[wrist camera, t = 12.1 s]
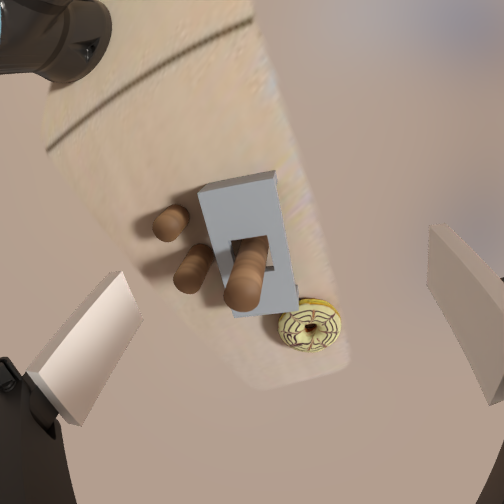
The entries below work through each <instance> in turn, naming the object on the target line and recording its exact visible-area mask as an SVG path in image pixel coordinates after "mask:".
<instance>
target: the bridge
mask: <svg viewBox="0 0 504 504" xmlns="http://www.w3.org/2000/svg"><path fill="white" fill-rule="evenodd" d="M276 186H277V176H276V171H275V170H274V171H268V172H263V173H258V174H252V175H247V176H242V177H237V178H232V179H227V180H222V181H217V182H213V183H208V184H206V185H205V186H204V187H203V188H202V189H201V190H200V191H199V192H198V193H197V195H198V198H199V202H200V205H201V209H202V212H203V216H204V219H205V223H206V226H207V230H208V233H209V237H210V240H211V244H212V247H213V250H214V254H215V257H216V261H217V264H218V267H219V271H220V274H221V277H222V280H223V284H224V287H225V288H226V285H227V282H228V279H229V276H230V274H231V271H232V268H233V265H234V262H235V255H234V251H233V248H232V244H231V241H232V240H238V239H245V238H251V237H257V236H264V235H267V237H268V242H269V247H270V251H271V256H272V260H273V265H274V266H268V267H265V272H264V278H263V284H262V290H261V296H260V302H259V304H258V306H257V307H256V308H255V309H254V310H252V311H249V312H238V311H235V310H233V309H231V310H232V313H233V316H234V318H239V317H249V316H258V315H267V314H276V313H285V312H293V311H299V291H298V286H297V285H295V281H294V275H293V270H292V264H291V259H290V254H289V248H288V243H287V238H286V233H285V228H284V223H283V217H282V212H281V207H280V203H279V198H278V193H277V188H276Z"/></svg>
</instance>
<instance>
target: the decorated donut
mask: <svg viewBox="0 0 504 504" xmlns="http://www.w3.org/2000/svg"><path fill="white" fill-rule="evenodd" d="M311 323H315V324H316V325H315V327H313V328H311V329H308V328H306V327H305V325H307V324H311ZM278 325H279V329H278V332H279V334H280V337H281V339H282V340H283V341H284V342H285V343H286V344H287V345H288V346H290V347H291V348H293V349H295V350H298V351H302V352H319V351H321V350H323V349H325V348H326V347H328V346H329V345H331V344H332V343H333V342H334V341H335V340H336V339H337V337H338V336H339V334H340V329H341V318H340V315H339V313H338V312H337V310H336V309H335V308H334V307H333V306H332V305H331V304H330V303H328V302H326V301H324V300H320V299H302V300H299V311H293V312H285V313H283V314H282V315H281V317H280V318H279V322H278Z"/></svg>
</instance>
